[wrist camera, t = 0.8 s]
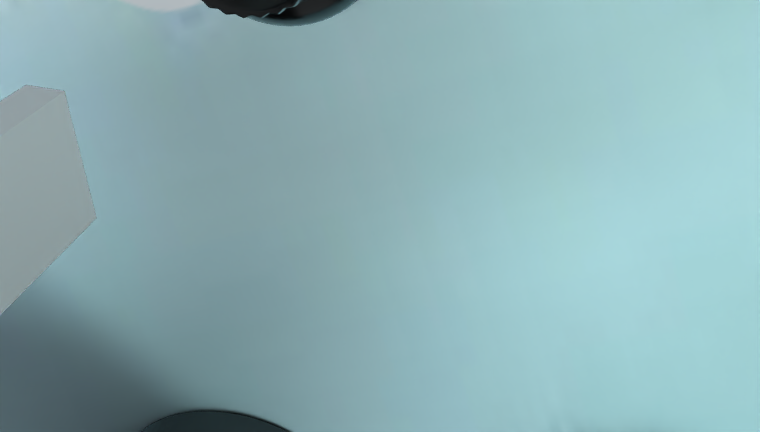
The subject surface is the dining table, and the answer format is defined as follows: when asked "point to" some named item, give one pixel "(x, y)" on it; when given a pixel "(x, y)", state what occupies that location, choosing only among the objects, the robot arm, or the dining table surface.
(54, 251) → the robot arm
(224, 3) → the supplement bottle
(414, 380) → the dining table surface
